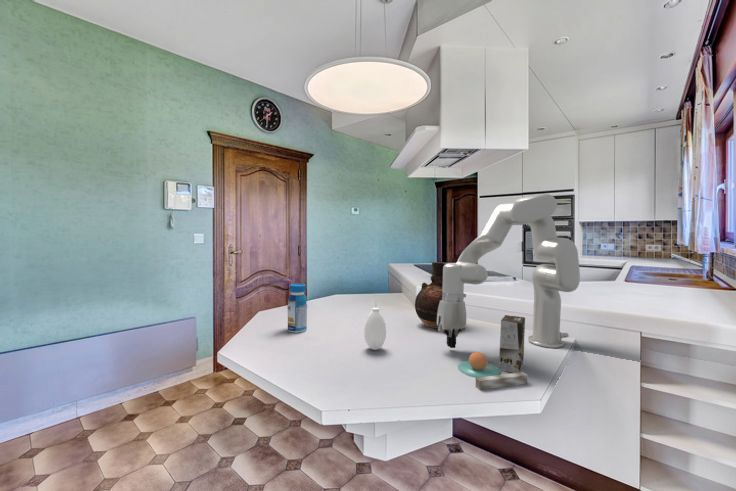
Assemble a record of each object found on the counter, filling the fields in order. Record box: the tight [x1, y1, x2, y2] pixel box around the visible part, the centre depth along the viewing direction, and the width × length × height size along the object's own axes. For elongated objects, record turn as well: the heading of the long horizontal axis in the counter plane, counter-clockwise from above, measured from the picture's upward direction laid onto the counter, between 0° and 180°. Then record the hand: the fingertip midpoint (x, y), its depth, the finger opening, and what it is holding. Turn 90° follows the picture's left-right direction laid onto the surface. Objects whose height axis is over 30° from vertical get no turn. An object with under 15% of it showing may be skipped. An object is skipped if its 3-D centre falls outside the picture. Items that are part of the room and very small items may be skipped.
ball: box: [468, 351, 488, 370], centre depth 106 cm, size 6×6×6 cm
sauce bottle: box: [363, 301, 387, 351], centre depth 122 cm, size 8×8×18 cm
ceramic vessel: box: [414, 261, 448, 329], centre depth 153 cm, size 21×18×30 cm
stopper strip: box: [475, 371, 528, 391], centre depth 95 cm, size 16×2×2 cm, turn 106°
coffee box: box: [498, 314, 526, 374], centre depth 108 cm, size 9×6×16 cm
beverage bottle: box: [287, 283, 308, 334], centre depth 143 cm, size 8×8×20 cm
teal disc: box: [457, 360, 502, 378], centre depth 106 cm, size 13×13×1 cm
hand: (451, 346), depth 122 cm, fingers closed
